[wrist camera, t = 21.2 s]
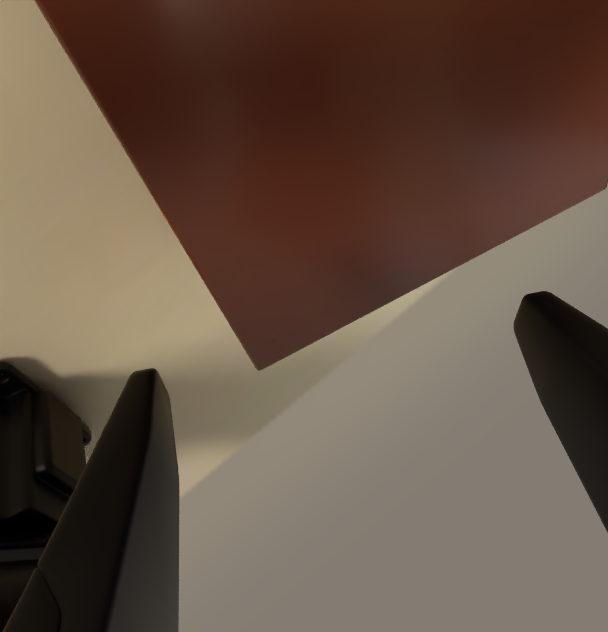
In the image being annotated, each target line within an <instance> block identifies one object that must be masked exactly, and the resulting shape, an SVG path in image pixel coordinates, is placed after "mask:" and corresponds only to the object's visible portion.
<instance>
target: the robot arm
mask: <svg viewBox="0 0 608 632" xmlns="http://www.w3.org/2000/svg"><path fill="white" fill-rule="evenodd" d="M514 332H515V335H516V338H517V341H518V343H519V346H520V349H521V351H522V354H523V357H524V359H525V362H526V365H527V367H528V370H529V373H530V375H531V378H532V381H533V383H534V386H535V388H536V391H537V393H538V396H539V399H540V401H541V403H542V405H543V407H544V409H545V411H546V414H547V415H548V417H549V419H550V421H551V423H552V425H553V427H554V429H555V431H556V433H557V435H558V437H559V439H560V441H561V442H562V445H563V446H564V449H565V450H566V452H567V454H568V456H569V458H570V460H571V462H572V464H573V466H574V468H575V470H576V472H577V474H578V476H579V478H580V480H581V482H582V484H583V486H584V487H585V489H586V491H587V493H588V495H589V497H590V499H591V501H592V503H593V505H594V507H595V509H596V511H597V513H598V515H599V516H600V518H601V521H602V523H603V525H604V526H605V528H606V530H607V532H608V329H607V328H606V327H604V326H603V325H601V324H599V323H598V322H596V321H595V320H593V319H591V318H590V317H588V316H587V315H585V314H584V313H582V312H580V311H579V310H577V309H575V308H574V307H572V306H571V305H569V304H568V303H566V302H565V301H563V300H561V299H560V298H558V297H556V296H555V295H553V294H552V293H550V292H547V291H541V292H536V293H531V294H527V295H526V296H524V297H523V299H522V302H521V305H520V307H519V310H518V313H517V315H516V318H515V320H514ZM0 373H2V374H5V375H0V632H178V610H179V608H178V607H179V605H178V604H179V475H178V464H177V456H176V447H175V439H174V430H173V422H172V413H171V405H170V399H169V395H168V392H167V390H166V388H165V386H164V384H163V382H162V379H161V377H160V375H159V373H158V371H157V370H156V369H154V368H150V369H145V370H140V371H135V372H133V373H132V374H131V375H130V377H129V379H128V381H127V383H126V385H125V387H124V389H123V391H122V393H121V395H120V397H119V399H118V401H117V403H116V406H115V408H114V410H113V412H112V414H111V416H110V418H109V420H108V422H107V424H106V426H105V428H104V430H103V432H102V434H101V436H100V438H99V440H98V442H97V444H96V446H95V448H94V450H93V452H92V454H91V456H90V458H89V460H88V462H87V464H86V458H85V450H84V446H85V445H87V444H88V443H90V441H91V431H90V430H89V428H87V427H86V426H85V425H84V424H83V423H81V419H80V417H79V416H77V415H76V414H75V413H74V412H73V411H71V410H70V409H69V408H68V407H67V406H65V405H64V404H63V403H62V402H61V401H59V400H58V399H57V398H56V397H55V396H53V395H52V394H51V393H50V392H49V391H46V390H43V389H40V388H39V387H38V386H37V385H35V384H34V383H33V382H32V381H30V380H29V379H28V378H27V377H26V376H24V375H23V374H22V373H21V372H20V371H18V370H17V369H16V368H15V367H14V366H12V365H11V364H9V363H5V362H0Z"/></svg>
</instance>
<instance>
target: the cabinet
mask: <svg viewBox="0 0 608 632" xmlns="http://www.w3.org/2000/svg"><path fill="white" fill-rule="evenodd" d="M35 2H36V4H37V5H38V7H39V9H40V10H41V12H42V14H43V15H44V17H45V19H46V20H47V22H48V24H49V25H50V27H51V29H52V30H53V32H54V34H55V35H56V37H57V39H58V40H59V42H60V44H61V45H62V47H63V49H64V50H65V52H66V54H67V55H68V57H69V59H70V60H71V62H72V64H73V65H74V67H75V69H76V70H77V72H78V74H79V75H80V77H81V78H82V80H83V82H84V83H85V85H86V87H87V88H88V90H89V92H90V93H91V95H92V97H93V98H94V100H95V102H96V103H97V105H98V107H99V108H100V110H101V112H102V113H103V115H104V117H105V118H106V120H107V122H108V123H109V125H110V127H111V128H112V130H113V132H114V133H115V135H116V137H117V138H118V140H119V142H120V143H121V145H122V147H123V148H124V150H125V152H126V153H127V155H128V157H129V158H130V160H131V162H132V163H133V165H134V167H135V168H136V170H137V172H138V173H139V175H140V177H141V178H142V180H143V182H144V183H145V185H146V186H147V188H148V190H149V191H150V193H151V195H152V196H153V198H154V200H155V201H156V203H157V205H158V206H159V208H160V210H161V211H162V213H163V215H164V216H165V218H166V220H167V221H168V223H169V225H170V226H171V228H172V230H173V231H174V233H175V235H176V236H177V238H178V240H179V241H180V243H181V245H182V246H183V248H184V250H185V251H186V253H187V255H188V256H189V258H190V260H191V261H192V263H193V265H194V266H195V268H196V270H197V271H198V273H199V275H200V276H201V278H202V280H203V281H204V283H205V285H206V286H207V288H208V290H209V291H210V293H211V295H212V296H213V298H214V299H215V301H216V303H217V304H218V306H219V308H220V309H221V311H222V313H223V314H224V316H225V318H226V319H227V321H228V323H229V324H230V326H231V328H232V329H233V331H234V333H235V334H236V336H237V338H238V339H239V341H240V343H241V344H242V346H243V348H244V349H245V351H246V353H247V354H248V356H249V358H250V359H251V361H252V363H253V364H254V366H255V368H256V369H257V370H258V371H260V370H262V369H264V368H266V367H268V366H270V365H272V364H274V363H276V362H277V361H279V360H281V359H283V358H285V357H287V356H289V355H291V354H293V353H295V352H296V351H298V350H300V349H302V348H304V347H306V346H308V345H310V344H312V343H314V342H315V341H317V340H319V339H321V338H323V337H325V336H327V335H329V334H331V333H333V332H334V331H336V330H338V329H340V328H342V327H344V326H346V325H348V324H350V323H352V322H353V321H355V320H357V319H359V318H361V317H363V316H365V315H367V314H369V313H371V312H372V311H374V310H376V309H378V308H380V307H382V306H384V305H386V304H388V303H390V302H391V301H393V300H395V299H397V298H399V297H401V296H403V295H405V294H407V293H409V292H410V291H412V290H414V289H416V288H418V287H420V286H422V285H424V284H426V283H428V282H429V281H431V280H433V279H435V278H437V277H439V276H441V275H443V274H445V273H447V272H448V271H450V270H452V269H454V268H456V267H458V266H460V265H462V264H464V263H466V262H467V261H469V260H471V259H473V258H475V257H477V256H479V255H481V254H483V253H485V252H486V251H488V250H490V249H492V248H494V247H496V246H498V245H500V244H502V243H504V242H505V241H507V240H509V239H511V238H513V237H515V236H517V235H519V234H520V233H523V232H524V231H526V230H528V229H530V228H532V227H534V226H536V225H538V224H540V223H541V222H543V221H545V220H547V219H549V218H551V217H553V216H555V215H557V214H558V213H560V212H562V211H564V210H566V209H568V208H570V207H572V206H574V205H576V204H578V203H579V202H581V201H583V200H585V199H587V198H589V197H591V196H593V195H595V194H597V193H599V192H600V191H602V190H604V189H605V188H606V187H607V182H608V0H35Z"/></svg>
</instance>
